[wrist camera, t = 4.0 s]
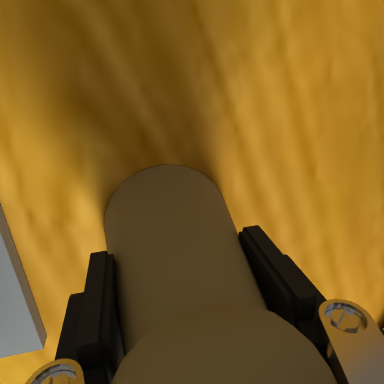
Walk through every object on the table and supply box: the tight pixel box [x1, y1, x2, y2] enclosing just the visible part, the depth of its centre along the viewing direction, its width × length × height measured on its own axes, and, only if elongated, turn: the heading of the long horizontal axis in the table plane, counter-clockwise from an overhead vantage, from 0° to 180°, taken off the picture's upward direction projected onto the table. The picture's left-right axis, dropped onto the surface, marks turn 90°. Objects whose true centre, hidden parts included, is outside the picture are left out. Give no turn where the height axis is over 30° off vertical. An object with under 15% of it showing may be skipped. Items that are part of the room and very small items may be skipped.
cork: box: [104, 165, 338, 384], centre depth 10 cm, size 6×6×11 cm
